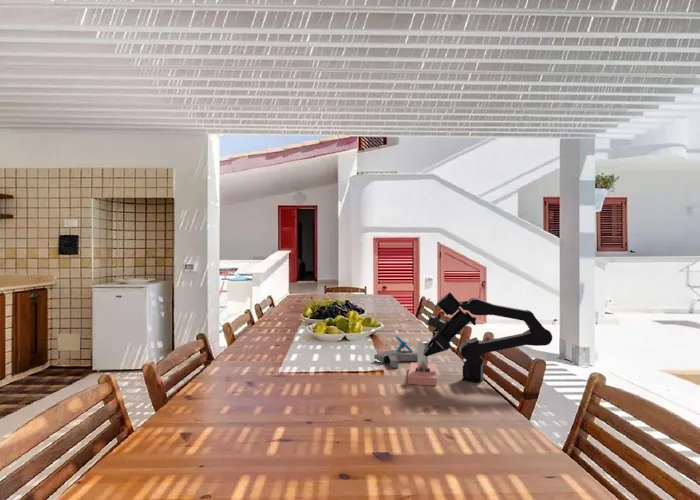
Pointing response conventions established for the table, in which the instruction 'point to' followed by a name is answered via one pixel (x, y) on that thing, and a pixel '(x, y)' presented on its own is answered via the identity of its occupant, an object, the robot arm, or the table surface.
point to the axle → (422, 356)
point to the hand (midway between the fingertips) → (425, 352)
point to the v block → (395, 357)
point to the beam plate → (422, 375)
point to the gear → (402, 345)
